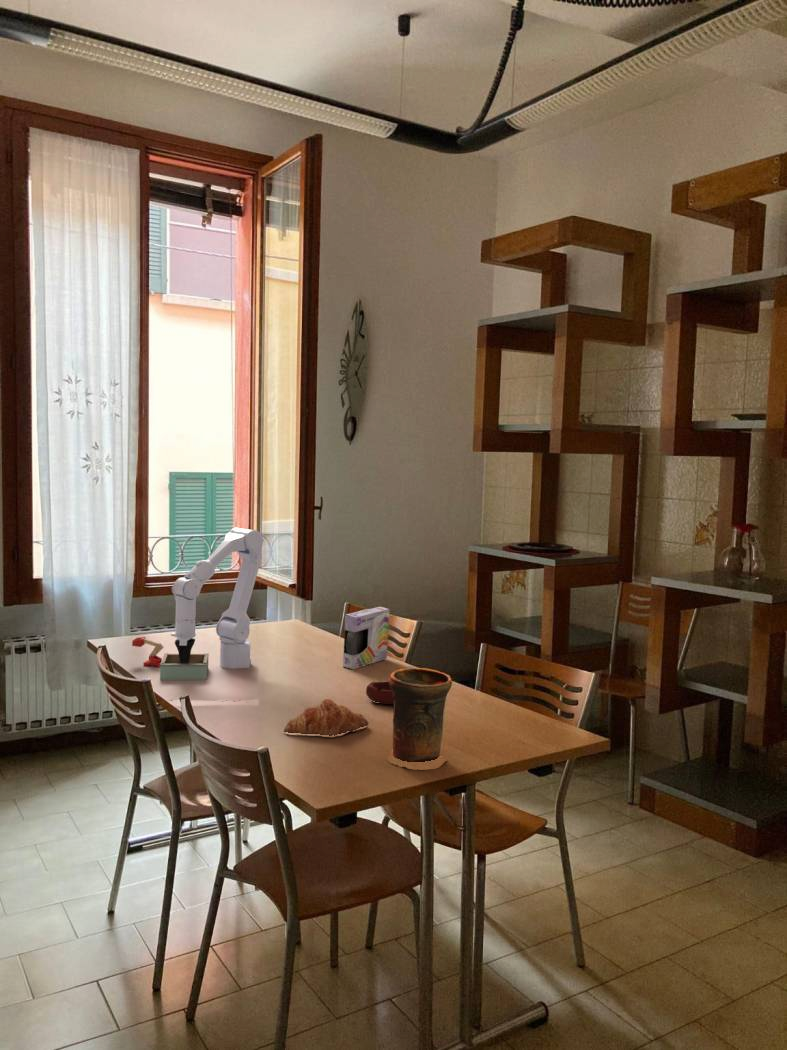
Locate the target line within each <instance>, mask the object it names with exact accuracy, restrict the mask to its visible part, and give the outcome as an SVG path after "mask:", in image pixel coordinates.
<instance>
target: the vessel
mask: <svg viewBox="0 0 787 1050" xmlns="http://www.w3.org/2000/svg"><path fill="white" fill-rule="evenodd" d="M452 680H453V679H452V678H451V676H450V675H449V674H446V673H445V672H441V671H439V670H435V669H430V668H424V667H422V668H421V667H411V668H401V669H397V670H394V671H393V672H391V674H390V676H389V679H388V681H389V685H390V688H391V689H392V691H393V699H394V704H393V717H392V726H393V727H392V749H391V750H392V751H391V754H393V756H394V757H395V758H397V759H400V760H402V761H407V762H425V761H431V760H435V759H437V758H438V757H439V756H440V755H441V747H442V742H443V741H442V740H443V731H444V730H443V729H444V714H445V713H444V712H445V708H446V707H445V706H446V700H447V696H448V693H449V692H450V690H451V688H452V685H453V681H452ZM440 757H441V756H440Z"/></svg>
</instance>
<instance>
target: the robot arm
mask: <svg viewBox="0 0 787 1050" xmlns="http://www.w3.org/2000/svg"><path fill="white" fill-rule="evenodd" d="M263 544H264V538H263V536H262V534H261V533H260V532H259V531H258V530H256V529H249V528H242V527H241V528H240V527H238V526H237V527H233V528H232V529H230V531H229V532H228V533H226V534H225V537H224V540H223V541H222V542H221V543H220V544H219V545H218V546H217V547H216V549H215V550H214V551H213V552H212V553H211V554H210V555H209V556H208V558H207V559H200V560H197V561H196V562H195V564H194V565H193V567H192V568H190V570H189V571H188V572H186V573H185V574H184V575H183V577H178V578H177V579H176V580H175V581H174V583H173V586H172V587H171V593H172V594H173V595H174V601H175V622H174V624H175V629H174V630H175V631H174V632H170V633H171V634H170V636H171V637H175V638H176V639H175V640H174V645H175V647H176V649H177V651H178V653H177V654H179V658H180V663H181V664H188V663H189V659H190V654H192V648H193V647H194V645H195V642H196V638H195V637H196V635H197V633H196V615H197V614H196V611H197V610H196V608H197V601H196V600H197V597H199V595H200V594H201V589H202V588H203V585H205V584H206V583H207V582H208V581H209V580H210V579H211V578H212V577H213V575H214V574H215V573H216V568H217V566H219V565H220V564H221V563H222V562H224V560H225V559H226V558H228V557H229V556H230V555H231V554H233V553H234V552H237V554H239V556H240V558H241V559H242V562H241V564H240V565H241V566H240V569H239V571H238V575H237V580H236V583H235V586H234V590H233V594H232V597H231V599H230V603H229V608H228V609H226V610H225V611H224V612H222V613H221V616H220V619H219V620H218V621H217V624H216V626H215V632H216V635H217V636H218V637H219V641H220V653H219V654H220V655H219V658H220V659H219V666H220V667H221V668H224V669H233V670H234V669H250V668H251V667H250V666H251V665H252V659H251V641H248V640H247V639H248V638H249V635H250V624H251V619H250V617H249V616H248V614H247V611H248V608H249V604H250V601H251V598H252V594H253V590H254V586H255V584H256V579H257V575H258V573H259V569H260V566H261V561H262V559H263V558H262V548H263Z"/></svg>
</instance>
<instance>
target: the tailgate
mask: <svg viewBox="0 0 787 1050" xmlns="http://www.w3.org/2000/svg"><path fill="white" fill-rule="evenodd" d="M206 666H207V664H160V667H159V668H160V669H159V672H160V673H159V680H160V681H168V680H169V681H176V680H177V681H178V680H179V681H182V680H183V681H193V680H194V681H195V680H197V681H199V680H200V681H202V680H203V681H204V680H207V677H206Z"/></svg>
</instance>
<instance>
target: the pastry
mask: <svg viewBox="0 0 787 1050" xmlns="http://www.w3.org/2000/svg"><path fill="white" fill-rule="evenodd" d="M367 725H368V726H369V721H368V720H367V719H366V718H365V717H364V715H363V714H361V713H358V712H354V711H352V710H350V709H349V708H348V707H346V706H344V705H342V704H341V705H338V704H337V703H336V702H335V701H333V700H332V699H330V698H327V699H326V698H325V699H323V700H322V701H321V703H320V705H318V706H314V707H308V708H305V709H304V710H303V712H302V713H300V714H298V716H297V717H295V718H294V719H290V720H289V721H288V722H286V725H285V727H284V729H283V732H288V733H301V734H320V735H329V736H332V735H334V736H335V735H337V734H341V733H346V732H347V731H353V730H356V729H358V728H360V727H364V726H367Z"/></svg>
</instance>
